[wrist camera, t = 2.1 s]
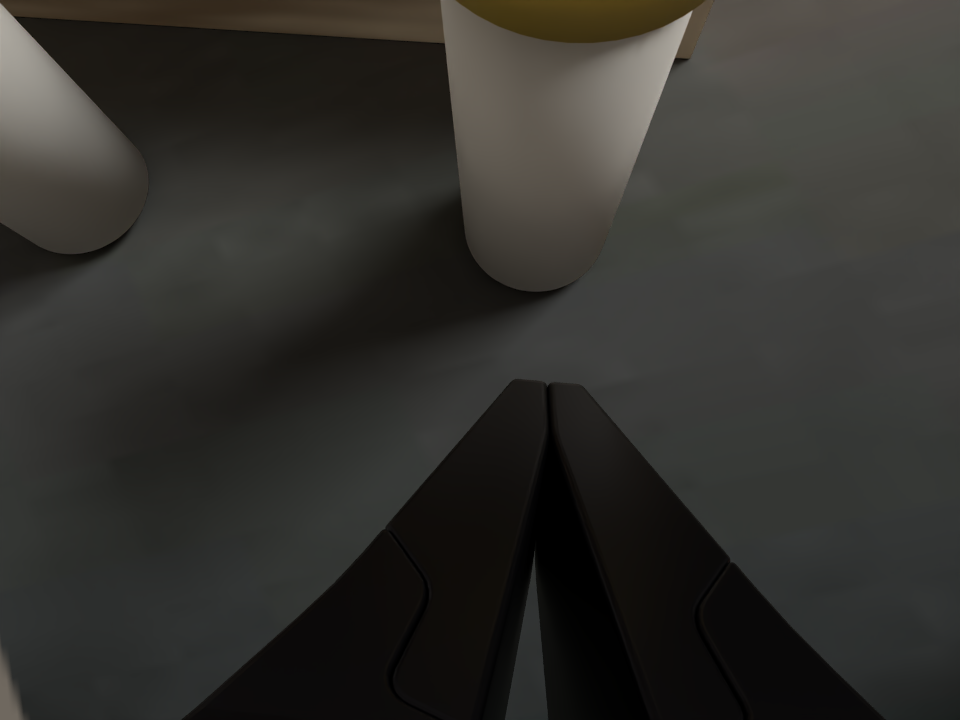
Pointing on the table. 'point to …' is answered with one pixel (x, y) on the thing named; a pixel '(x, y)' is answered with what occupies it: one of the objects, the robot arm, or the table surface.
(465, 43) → the white cylinder
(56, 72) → the grey capped bottle
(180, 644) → the table surface
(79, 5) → the mount
